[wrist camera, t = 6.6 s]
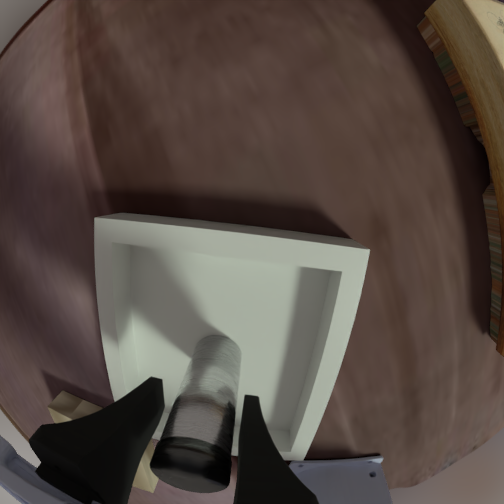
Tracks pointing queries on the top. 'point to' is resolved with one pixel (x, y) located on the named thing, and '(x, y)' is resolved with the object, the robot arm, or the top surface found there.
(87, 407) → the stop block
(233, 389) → the black capped bottle
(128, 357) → the tray
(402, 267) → the top surface
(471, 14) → the cream flat square box
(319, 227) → the top surface
